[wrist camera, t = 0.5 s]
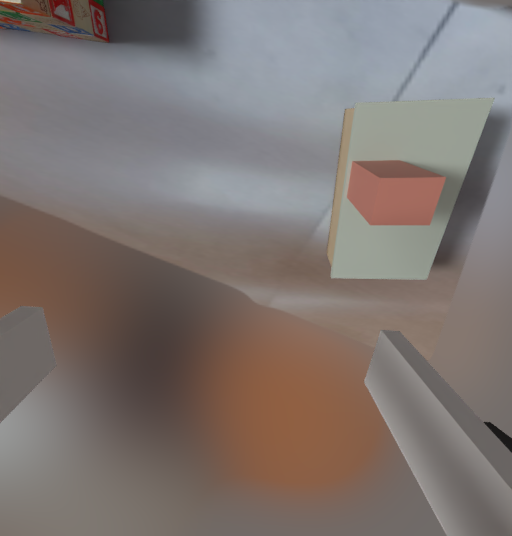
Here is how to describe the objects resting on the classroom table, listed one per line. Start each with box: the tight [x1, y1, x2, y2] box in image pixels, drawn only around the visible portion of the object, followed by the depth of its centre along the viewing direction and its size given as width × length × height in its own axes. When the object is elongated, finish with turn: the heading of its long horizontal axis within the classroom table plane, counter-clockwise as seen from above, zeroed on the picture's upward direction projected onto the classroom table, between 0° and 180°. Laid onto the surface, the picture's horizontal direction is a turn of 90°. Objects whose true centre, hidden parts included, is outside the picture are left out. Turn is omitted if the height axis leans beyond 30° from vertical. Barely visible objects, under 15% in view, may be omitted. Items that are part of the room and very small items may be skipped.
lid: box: [331, 98, 495, 280], centre depth 27 cm, size 21×13×10 cm, turn 2°
